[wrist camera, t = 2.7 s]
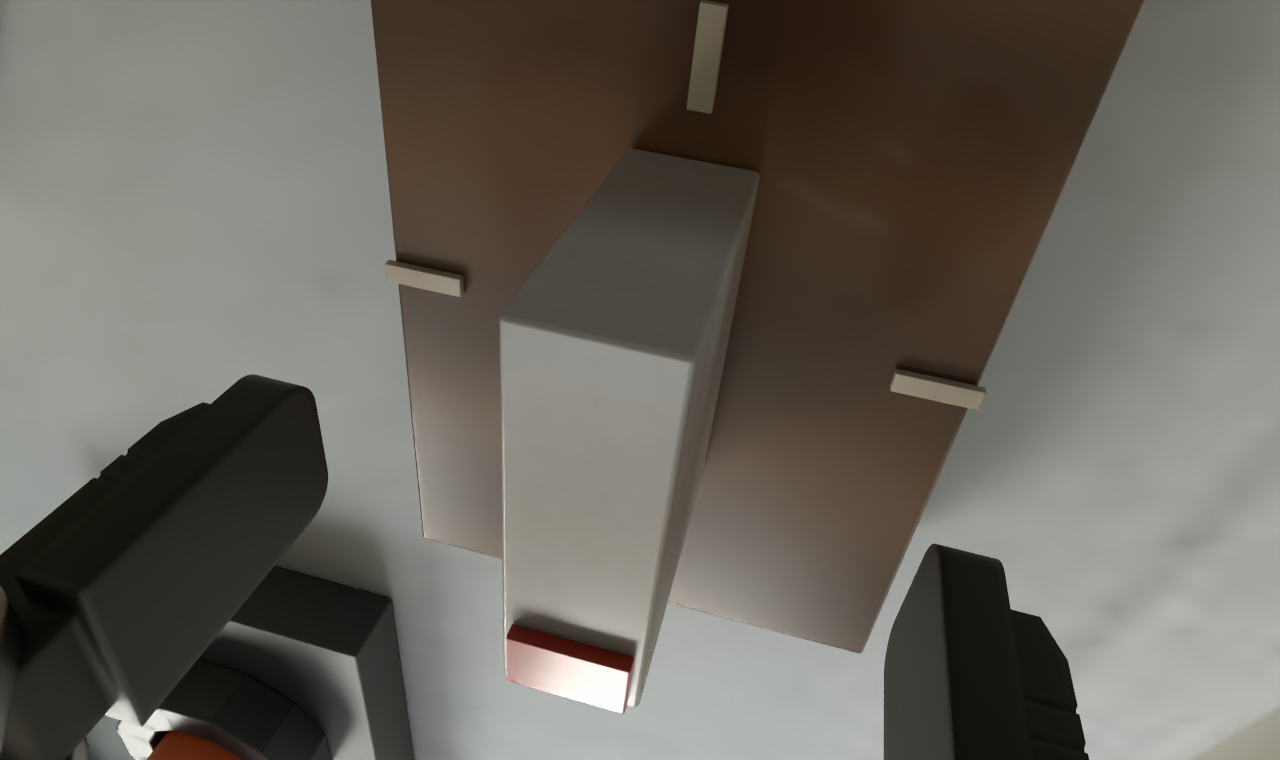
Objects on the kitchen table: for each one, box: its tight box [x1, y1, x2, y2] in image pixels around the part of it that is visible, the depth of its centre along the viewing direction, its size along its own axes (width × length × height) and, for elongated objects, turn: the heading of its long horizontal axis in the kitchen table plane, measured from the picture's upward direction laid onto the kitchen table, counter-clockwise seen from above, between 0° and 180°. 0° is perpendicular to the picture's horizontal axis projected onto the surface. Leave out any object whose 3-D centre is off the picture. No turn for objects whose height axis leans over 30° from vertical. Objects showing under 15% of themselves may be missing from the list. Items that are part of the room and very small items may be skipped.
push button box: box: [116, 567, 414, 760], centre depth 28 cm, size 12×10×4 cm
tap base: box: [371, 0, 1144, 653], centre depth 15 cm, size 14×10×3 cm
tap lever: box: [500, 148, 760, 714], centre depth 11 cm, size 6×2×5 cm, turn 175°
